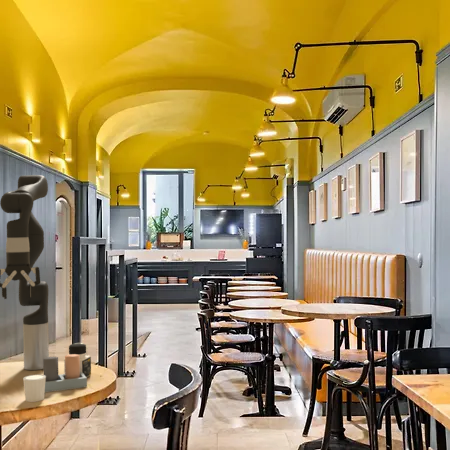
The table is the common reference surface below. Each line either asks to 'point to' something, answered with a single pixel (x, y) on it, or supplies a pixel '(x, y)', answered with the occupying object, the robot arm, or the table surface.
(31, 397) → the white cup
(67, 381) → the grey compartment tray
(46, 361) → the dark gray block
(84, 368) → the medicine bottle
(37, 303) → the robot arm
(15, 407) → the table surface
